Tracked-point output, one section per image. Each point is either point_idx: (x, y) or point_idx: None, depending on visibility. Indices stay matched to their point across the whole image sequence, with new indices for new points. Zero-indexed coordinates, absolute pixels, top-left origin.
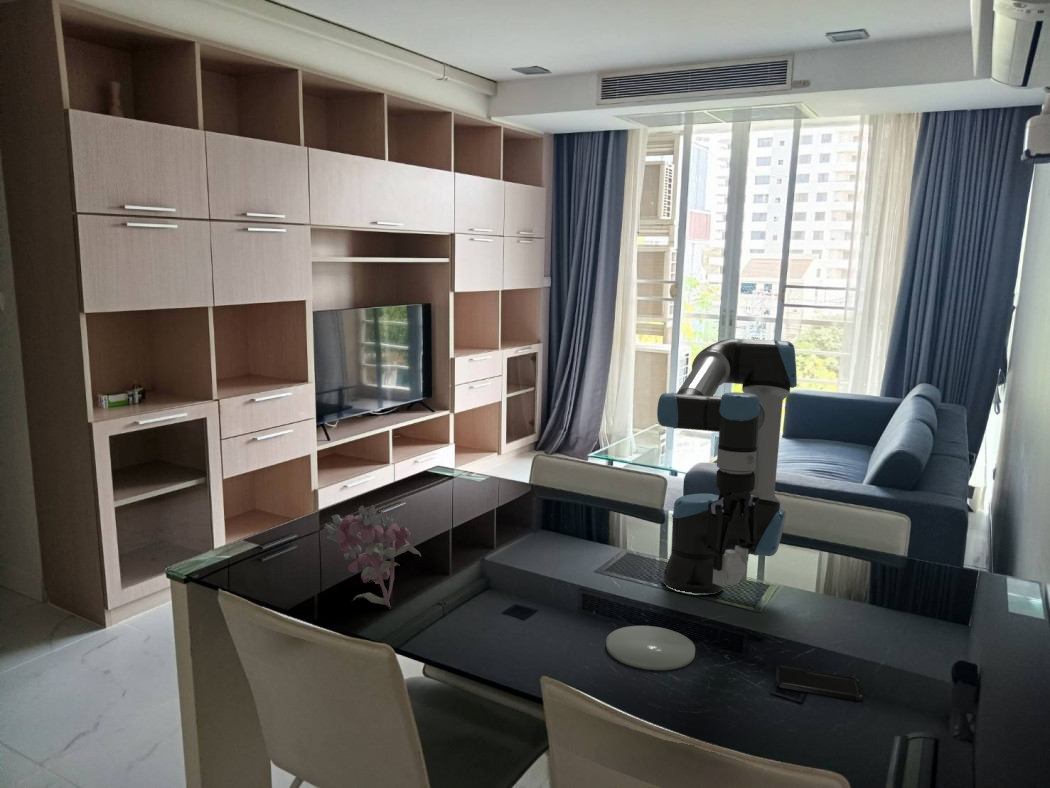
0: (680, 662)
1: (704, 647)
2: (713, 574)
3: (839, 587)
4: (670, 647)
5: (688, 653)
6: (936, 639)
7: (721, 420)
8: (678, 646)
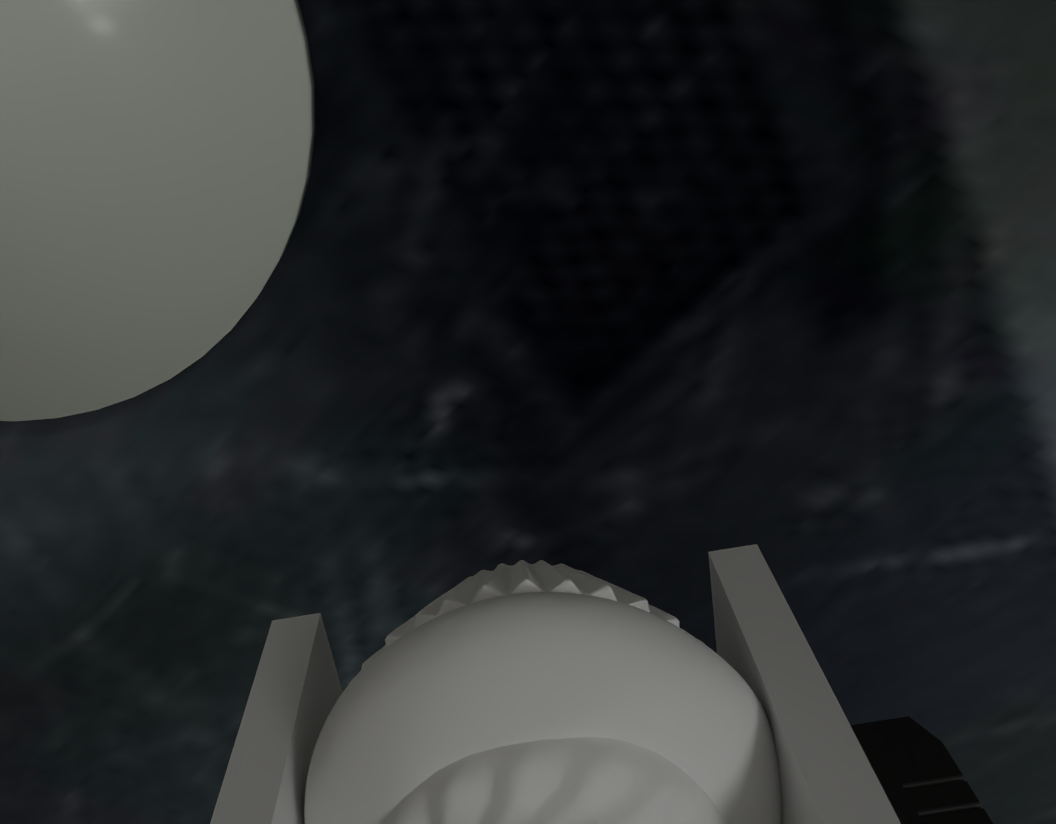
0: (28, 417)
1: (397, 238)
2: (252, 705)
3: None
4: (74, 213)
5: (154, 347)
6: None
7: None
8: (145, 228)
